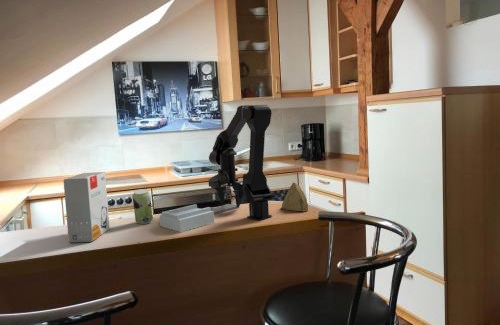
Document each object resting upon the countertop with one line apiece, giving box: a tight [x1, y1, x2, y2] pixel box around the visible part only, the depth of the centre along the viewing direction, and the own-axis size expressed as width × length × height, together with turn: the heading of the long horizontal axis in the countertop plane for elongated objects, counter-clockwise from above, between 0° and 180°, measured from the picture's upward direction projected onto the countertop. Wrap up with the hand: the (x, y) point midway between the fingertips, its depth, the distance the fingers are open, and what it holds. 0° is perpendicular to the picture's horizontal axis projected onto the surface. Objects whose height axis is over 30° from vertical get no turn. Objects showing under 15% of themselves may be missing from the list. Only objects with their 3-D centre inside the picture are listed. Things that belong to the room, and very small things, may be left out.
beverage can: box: [132, 188, 154, 225], centre depth 147 cm, size 6×7×12 cm
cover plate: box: [211, 203, 240, 216], centre depth 160 cm, size 6×16×2 cm, turn 135°
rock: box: [280, 182, 309, 212], centre depth 156 cm, size 11×9×10 cm
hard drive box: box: [63, 171, 111, 243], centre depth 134 cm, size 16×8×20 cm, turn 179°
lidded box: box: [159, 203, 215, 233], centre depth 142 cm, size 12×14×5 cm
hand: (230, 205), depth 164 cm, fingers open, 9 cm apart
